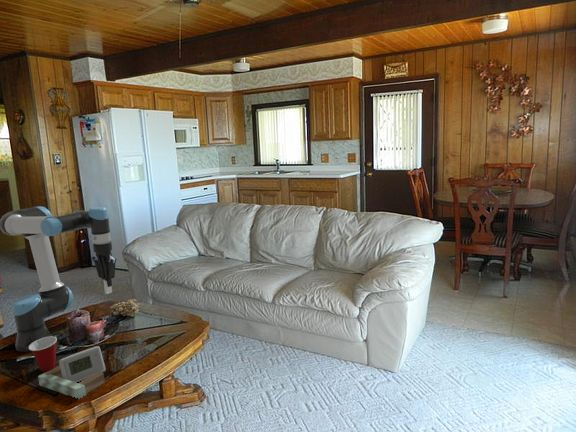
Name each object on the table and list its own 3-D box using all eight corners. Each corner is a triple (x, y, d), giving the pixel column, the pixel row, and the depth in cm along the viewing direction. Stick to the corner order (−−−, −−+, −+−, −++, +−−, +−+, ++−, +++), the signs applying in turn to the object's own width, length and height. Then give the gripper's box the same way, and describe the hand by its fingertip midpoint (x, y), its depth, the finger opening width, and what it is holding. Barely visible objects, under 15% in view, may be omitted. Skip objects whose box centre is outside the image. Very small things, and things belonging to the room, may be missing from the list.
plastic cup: (28, 370, 188) (23, 344, 186) (53, 359, 197) (48, 334, 194) (41, 377, 182) (36, 350, 180) (66, 365, 191) (62, 339, 188)
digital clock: (63, 389, 172) (59, 364, 170) (61, 378, 180) (57, 354, 178) (107, 375, 181) (103, 351, 178) (103, 366, 188) (100, 343, 186)
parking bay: (39, 385, 176) (37, 376, 175) (66, 370, 186) (65, 361, 186) (79, 399, 165) (77, 389, 164) (105, 382, 175) (104, 373, 174)
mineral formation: (138, 317, 238) (108, 319, 234) (140, 311, 251) (112, 314, 247) (138, 302, 238) (108, 304, 234) (139, 297, 251) (111, 300, 247)
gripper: (84, 243, 193) (91, 293, 198) (105, 245, 188) (112, 297, 192) (98, 239, 200) (105, 288, 205) (119, 241, 194) (125, 291, 199)
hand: (108, 292), depth 199 cm, fingers closed
